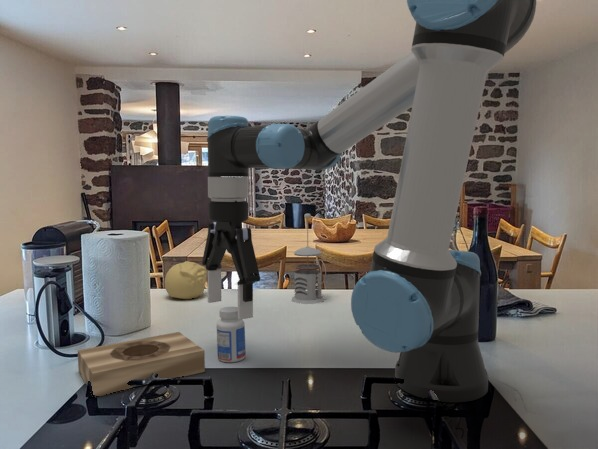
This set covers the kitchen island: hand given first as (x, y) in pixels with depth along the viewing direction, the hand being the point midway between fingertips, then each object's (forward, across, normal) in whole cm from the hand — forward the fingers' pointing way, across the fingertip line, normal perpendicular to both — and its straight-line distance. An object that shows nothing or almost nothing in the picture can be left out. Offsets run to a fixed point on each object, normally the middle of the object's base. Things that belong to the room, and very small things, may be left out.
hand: (229, 309), depth 95 cm
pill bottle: (+10, -1, 0) cm, 10 cm away
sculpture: (+11, +52, -11) cm, 55 cm away
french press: (+10, +28, -39) cm, 49 cm away
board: (+10, +2, +16) cm, 19 cm away
